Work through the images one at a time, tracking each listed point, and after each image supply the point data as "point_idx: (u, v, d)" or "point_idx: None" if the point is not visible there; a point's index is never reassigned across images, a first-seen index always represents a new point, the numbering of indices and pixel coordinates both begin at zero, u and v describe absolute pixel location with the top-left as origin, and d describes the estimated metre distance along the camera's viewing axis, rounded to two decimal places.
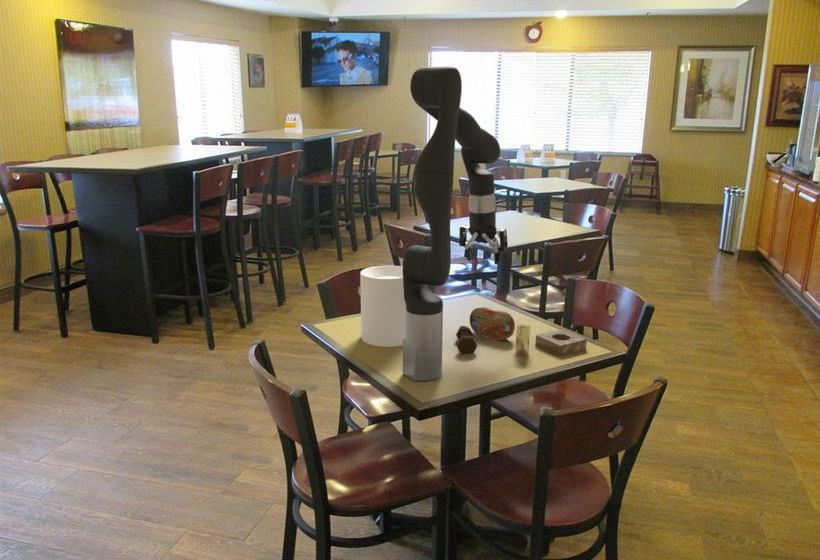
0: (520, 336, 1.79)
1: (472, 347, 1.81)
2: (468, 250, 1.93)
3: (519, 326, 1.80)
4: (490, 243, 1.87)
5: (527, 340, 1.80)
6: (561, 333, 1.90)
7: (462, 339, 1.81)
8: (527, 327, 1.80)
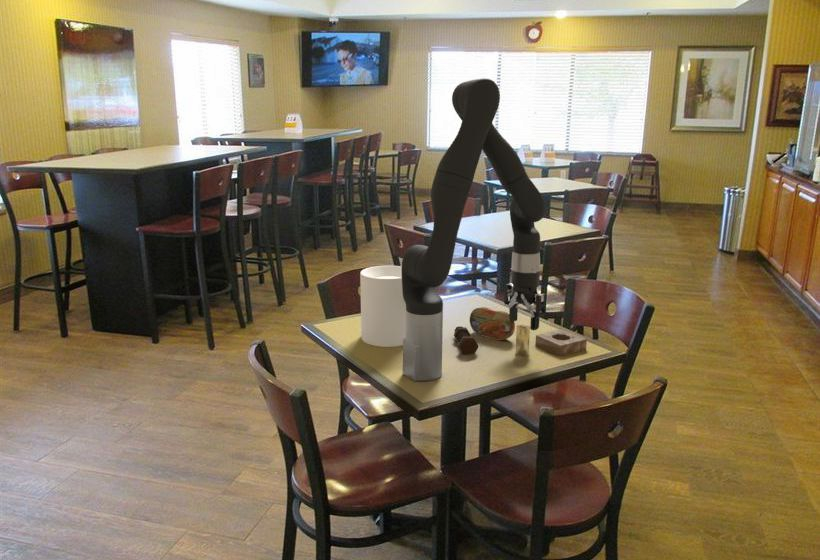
0: (520, 336, 1.79)
1: (473, 347, 1.81)
2: (510, 310, 1.83)
3: (519, 326, 1.80)
4: (527, 306, 1.75)
5: (527, 340, 1.80)
6: (561, 333, 1.90)
7: (464, 340, 1.81)
8: (527, 327, 1.80)
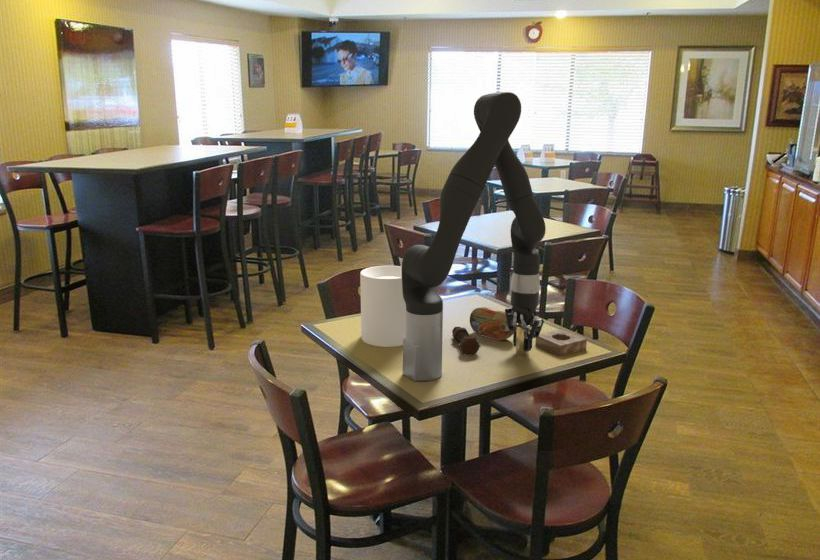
0: (520, 336, 1.79)
1: (475, 347, 1.81)
2: (514, 335, 1.82)
3: (519, 326, 1.80)
4: (523, 327, 1.78)
5: None
6: (561, 333, 1.90)
7: (465, 340, 1.80)
8: None
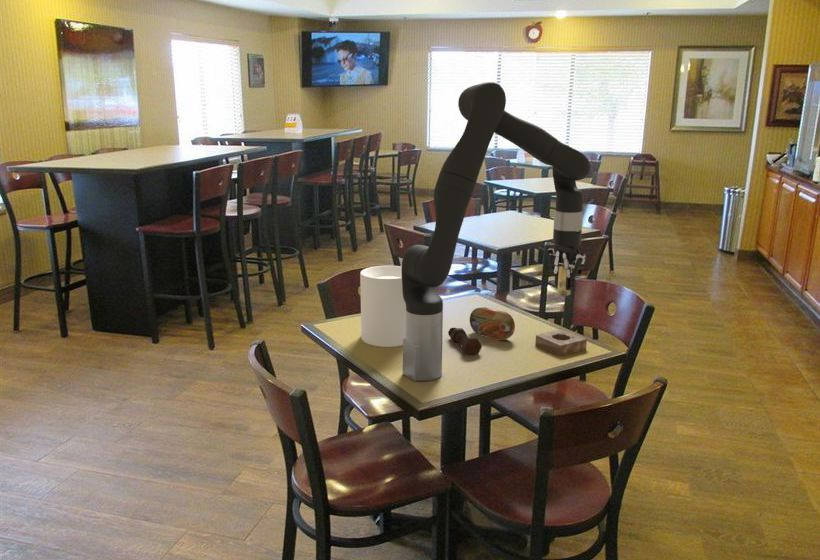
0: (562, 275, 1.81)
1: (477, 347, 1.81)
2: (556, 275, 1.84)
3: (561, 265, 1.82)
4: (566, 265, 1.79)
5: None
6: (561, 333, 1.90)
7: (468, 341, 1.80)
8: None
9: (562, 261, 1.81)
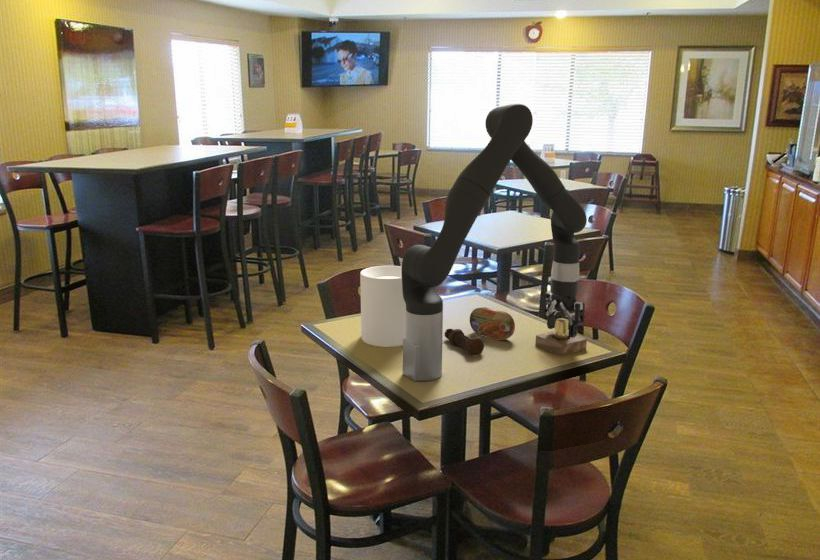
0: (559, 330, 1.85)
1: (480, 347, 1.81)
2: (548, 317, 1.89)
3: (558, 320, 1.86)
4: (566, 314, 1.81)
5: (566, 333, 1.85)
6: None
7: (472, 341, 1.80)
8: (566, 321, 1.85)
9: (557, 310, 1.85)
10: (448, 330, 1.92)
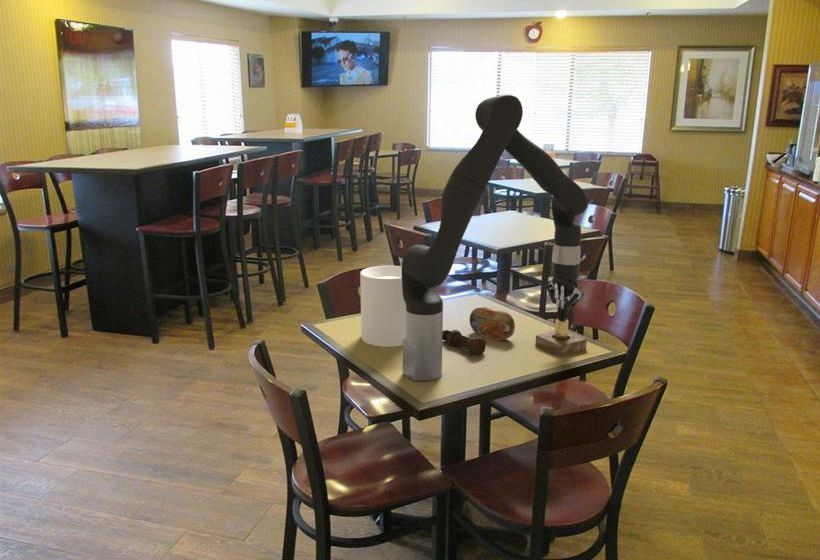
0: (559, 330, 1.85)
1: (482, 347, 1.81)
2: (559, 309, 1.84)
3: (558, 320, 1.86)
4: (561, 297, 1.82)
5: (566, 333, 1.85)
6: None
7: (475, 341, 1.79)
8: (566, 321, 1.85)
9: None
10: (445, 332, 1.91)
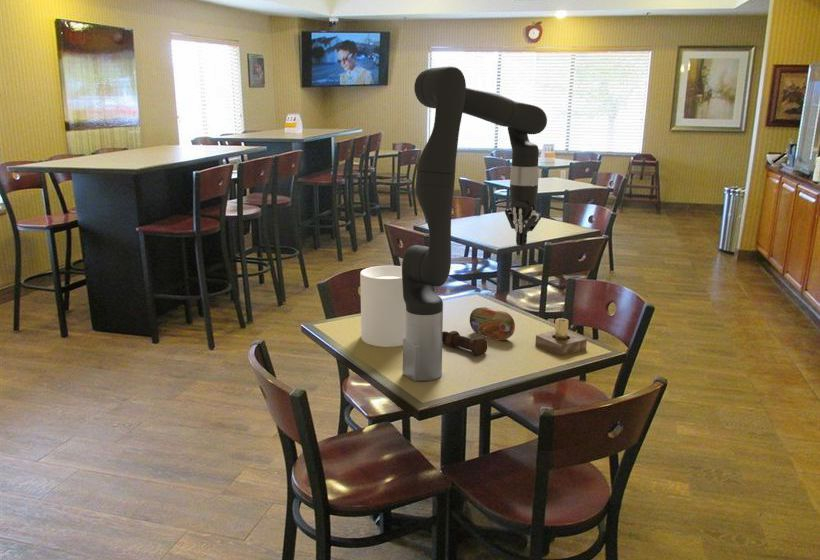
0: (559, 330, 1.85)
1: (484, 346, 1.82)
2: (517, 233, 1.82)
3: (558, 320, 1.86)
4: (520, 221, 1.79)
5: (566, 333, 1.85)
6: None
7: (478, 341, 1.79)
8: (566, 321, 1.85)
9: None
10: (443, 333, 1.89)
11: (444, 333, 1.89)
